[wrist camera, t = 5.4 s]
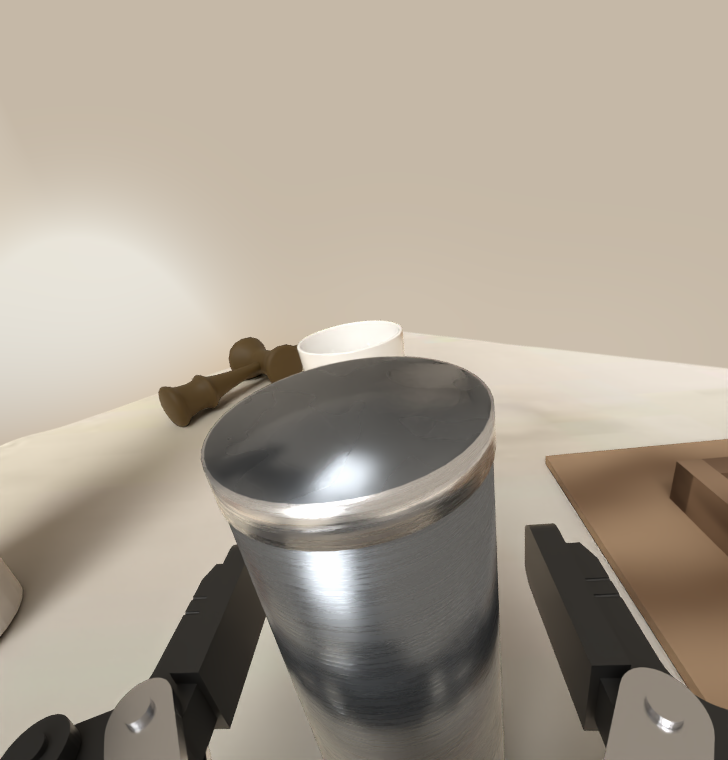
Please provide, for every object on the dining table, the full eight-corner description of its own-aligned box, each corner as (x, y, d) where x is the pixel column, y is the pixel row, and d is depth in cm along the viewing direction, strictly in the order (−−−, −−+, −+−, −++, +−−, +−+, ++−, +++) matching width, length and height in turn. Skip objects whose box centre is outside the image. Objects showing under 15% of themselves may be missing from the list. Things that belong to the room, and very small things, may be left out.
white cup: (333, 428, 35) (311, 327, 31) (416, 420, 34) (402, 315, 30) (315, 481, 28) (282, 360, 24) (418, 474, 27) (401, 345, 23)
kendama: (160, 422, 45) (286, 360, 58) (196, 443, 39) (328, 368, 52) (139, 379, 43) (275, 323, 56) (175, 394, 36) (318, 328, 49)
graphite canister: (311, 766, 13) (166, 427, 8) (414, 646, 16) (361, 345, 11) (432, 983, 9) (302, 586, 4) (540, 768, 12) (553, 381, 7)
